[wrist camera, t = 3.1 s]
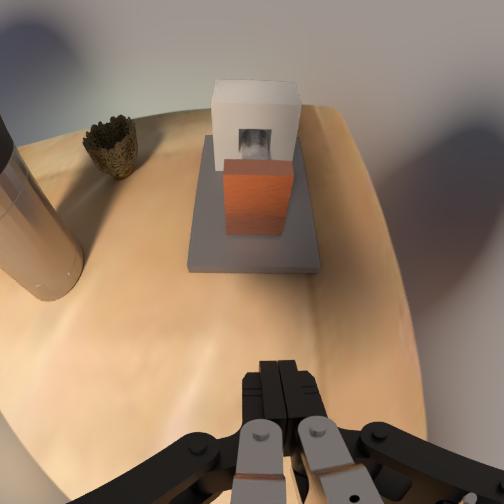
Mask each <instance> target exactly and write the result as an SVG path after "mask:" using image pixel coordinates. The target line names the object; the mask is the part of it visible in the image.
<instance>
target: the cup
mask: <svg viewBox="0 0 504 504" xmlns="http://www.w3.org/2000/svg"><path fill="white" fill-rule="evenodd" d="M110 121H111V122H110V123H106V124H105V125H104V124H102V122H99V123H98V126H97V125H92V127H91V132H90V133H89V132H86V137H87V138H83V141H84V142H83V145H84V147H85V149H86V150H87V152H88V154H89V155H90V157H91V159H92V160H93V162H94V163H95V165H96V166H97V167H98V168H99V169H100V170H101V171H102V172H104V173H107V174H110V175H111V176H112V177H113V178H115V179H123V178H126V177H127V176H129V175H130V174H131V172H132V170H133V163H134V162H135V160H136V157H137V151H138V147H137V137H136V130H135V123H134V120H132V121H131V119H130V117H128V119H126V117H124V116H123V115H119V116H118V117H117V118H115V117H111V118H110Z"/></svg>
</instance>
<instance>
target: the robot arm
mask: <svg viewBox="0 0 504 504" xmlns="http://www.w3.org/2000/svg"><path fill="white" fill-rule="evenodd" d="M83 262H84V261H83V251H82V248H81V246H80V244H79V243H78V242H77V240H76V239H75V238H74V236H73V235H72V234H71V232H70V231H69V229H68V228H67V226H66V225H65V224H64V222H63V221H62V219H61V218H60V217H59V215H58V214H57V212H56V211H55V209H54V208H53V206H52V205H51V203H50V202H49V200H48V199H47V197H46V196H45V194H44V193H43V191H42V190H41V188H40V186H39V185H38V183H37V182H36V180H35V178H34V177H33V175H32V173H31V172H30V170H29V168H28V167H27V165H26V163H25V162H24V160H23V158H22V157H21V155H20V153H19V151H18V150H17V148H16V146H15V144H14V142H13V140H12V138H11V136H10V134H9V133H8V131H7V129H6V127H5V124H4V122H3V120H2V118H1V116H0V268H1V269H2V270H3V271H5V272H6V273H7V274H8V275H9V276H10V277H11V278H13V279H14V280H15V281H16V282H17V283H18V284H20V285H21V286H22V287H23V288H25V289H26V290H27V291H28V292H30V293H31V294H32V295H33V296H35V297H36V298H37V299H39V300H42V301H54V300H56V299H59V298H61V297H62V296H64V295H65V294H66V293H67V292H69V291H70V290H71V289H72V287H73V286H74V285H75V283H76V282H77V280H78V278H79V276H80V274H81V271H82V267H83ZM286 456H290V457H291V468H290V473H291V477H292V480H293V484H294V488H295V492H296V496H297V499H298V503H299V504H504V471H503V470H500V469H497V468H494V467H491V466H488V465H485V464H483V463H480V462H477V461H474V460H471V459H469V458H466V457H464V456H461V455H458V454H456V453H453V452H451V451H448V450H446V449H443V448H441V447H439V446H436V445H434V444H432V443H429V442H427V441H425V440H422V439H420V438H418V437H416V436H413V435H411V434H409V433H407V432H405V431H402V430H400V429H398V428H396V427H394V426H392V425H390V424H387V423H384V422H372V423H369V424H367V425H365V426H364V427H363V428H362V430H361V431H357V430H347V429H342V428H339V427H337V425H336V424H335V423H334V422H333V421H332V420H331V419H329V418H328V417H327V414H326V411H325V408H324V405H323V402H322V399H321V396H320V394H319V390H318V387H317V384H316V381H315V378H314V377H313V376H312V375H311V374H310V373H309V372H308V371H298V369H297V366H296V362H295V360H278V361H259V372H247V374H246V375H245V377H244V378H243V380H242V426H241V428H240V429H239V430H238V431H237V432H236V433H235V434H233V435H231V436H229V437H225V438H221V439H216V438H214V437H213V436H212V435H210V434H207V433H203V432H193V433H189V434H186V435H184V436H183V437H181V438H180V439H178V440H177V441H175V442H174V443H172V444H171V445H169V446H168V447H166V448H165V449H163V450H162V451H160V452H159V453H157V454H155V455H154V456H152V457H151V458H149V459H147V460H146V461H144V462H143V463H141V464H139V465H138V466H136V467H134V468H133V469H131V470H129V471H127V472H126V473H124V474H122V475H121V476H119V477H117V478H115V479H113V480H112V481H110V482H108V483H106V484H104V485H102V486H101V487H99V488H97V489H95V490H93V491H91V492H89V493H87V494H85V495H83V496H81V497H79V498H77V499H75V500H73V501H71V502H69V503H66V504H210V503H211V502H212V501H214V500H215V499H216V498H217V497H218V496H219V495H220V494H221V493H222V492H223V491H226V490H230V489H232V494H231V502H230V504H286V480H285V476H284V475H283V457H286ZM384 465H385V466H384ZM386 466H387V467H386ZM398 472H399V473H398ZM400 473H401V474H400Z"/></svg>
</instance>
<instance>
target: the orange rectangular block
mask: <svg viewBox="0 0 504 504" xmlns="http://www.w3.org/2000/svg"><path fill="white" fill-rule="evenodd" d="M293 179H294V172H293V166H292V161H286V160H269V157H268V144H267V134H266V132H265V131H264V130H263V129H246V130H245V131H244V132H243V134H242V159H224V168H223V185H224V203H225V220H226V235H282V233H283V228H284V223H285V219H286V214H287V209H288V204H289V199H290V194H291V189H292V184H293Z"/></svg>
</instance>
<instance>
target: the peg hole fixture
mask: <svg viewBox="0 0 504 504" xmlns="http://www.w3.org/2000/svg"><path fill="white" fill-rule="evenodd" d="M301 108H302V104H301V101H300V97H299V94H298V90H297V87H296V84H295V82H283V81H266V80H216V81H215V86H214V90H213V96H212V100H211V112H212V129H213V135H206V136H205V141H204V147H203V153H202V159H201V165H200V172H199V178H198V185H197V191H196V198H195V205H194V213H193V220H192V228H191V236H190V245H189V253H188V262H187V267H188V270H189V272H192V273H318V271H319V269H320V267H321V266H320V258H319V251H318V244H317V237H316V231H315V224H314V218H313V212H312V205H311V200H310V194H309V188H308V182H307V177H306V171H305V166H304V161H303V156H302V151H301V146H300V141H299V137H297V132H298V126H299V120H300V114H301ZM246 129H263V130H264V131H265V132H266V134H267V144H268V157H269V160H286V161H292V166H293V172H294V179H293V184H292V189H291V194H290V199H289V204H288V209H287V214H286V219H285V223H284V228H283V233H282V235H226V220H225V203H224V185H223V168H224V159H242V134H243V132H244V131H245V130H246Z"/></svg>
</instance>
